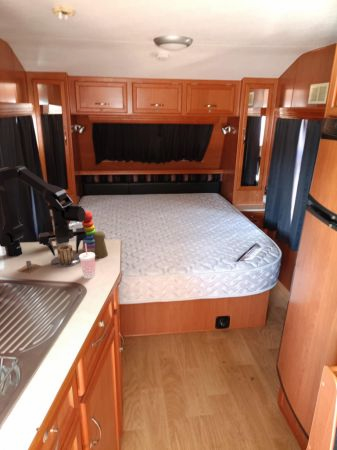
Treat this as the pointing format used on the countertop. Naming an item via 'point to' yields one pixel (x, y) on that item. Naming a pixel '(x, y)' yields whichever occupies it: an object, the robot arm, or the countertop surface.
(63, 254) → the tan hollow faceted cylinder
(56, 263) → the disc
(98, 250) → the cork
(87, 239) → the stacking toy
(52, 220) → the energy drink can
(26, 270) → the stand
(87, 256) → the beverage cup
